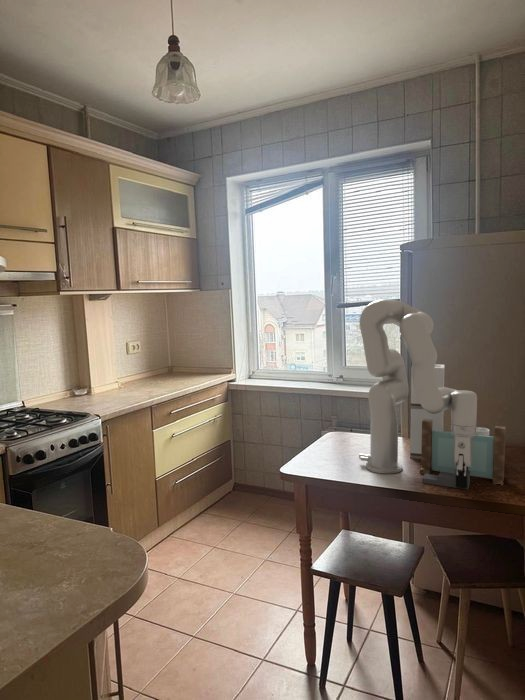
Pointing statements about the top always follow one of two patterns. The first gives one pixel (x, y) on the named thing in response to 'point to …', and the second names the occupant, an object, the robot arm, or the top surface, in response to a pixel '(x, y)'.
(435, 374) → the white block
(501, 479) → the door frame
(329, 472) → the top surface
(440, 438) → the door
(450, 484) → the block
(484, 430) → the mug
